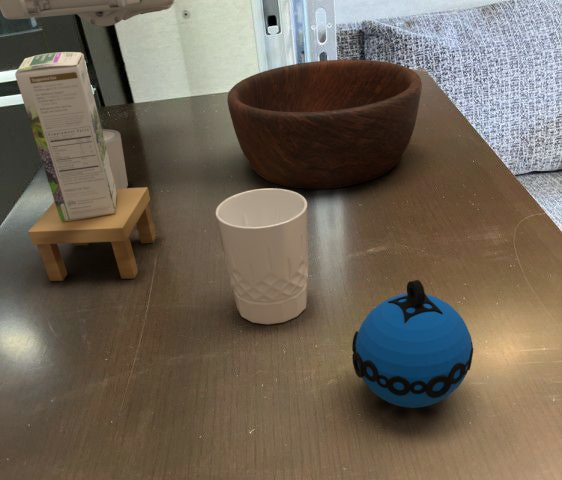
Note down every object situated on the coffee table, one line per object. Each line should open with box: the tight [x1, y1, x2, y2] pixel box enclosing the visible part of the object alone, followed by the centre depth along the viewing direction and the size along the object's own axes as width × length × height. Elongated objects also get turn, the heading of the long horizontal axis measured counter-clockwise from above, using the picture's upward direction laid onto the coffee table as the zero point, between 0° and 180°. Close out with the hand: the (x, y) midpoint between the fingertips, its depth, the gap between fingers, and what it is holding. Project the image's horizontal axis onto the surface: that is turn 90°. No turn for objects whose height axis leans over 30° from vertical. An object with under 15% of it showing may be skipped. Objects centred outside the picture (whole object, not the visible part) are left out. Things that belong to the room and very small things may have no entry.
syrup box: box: [14, 51, 117, 222], centre depth 62 cm, size 6×6×14 cm
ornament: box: [351, 279, 474, 409], centre depth 45 cm, size 9×9×10 cm
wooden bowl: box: [226, 59, 423, 190], centre depth 83 cm, size 25×25×10 cm
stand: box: [27, 186, 157, 282], centre depth 68 cm, size 10×10×6 cm
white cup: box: [215, 187, 309, 325], centre depth 56 cm, size 8×8×10 cm
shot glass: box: [102, 128, 129, 189], centre depth 84 cm, size 7×7×7 cm
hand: (70, 2), depth 67 cm, fingers open, 8 cm apart
